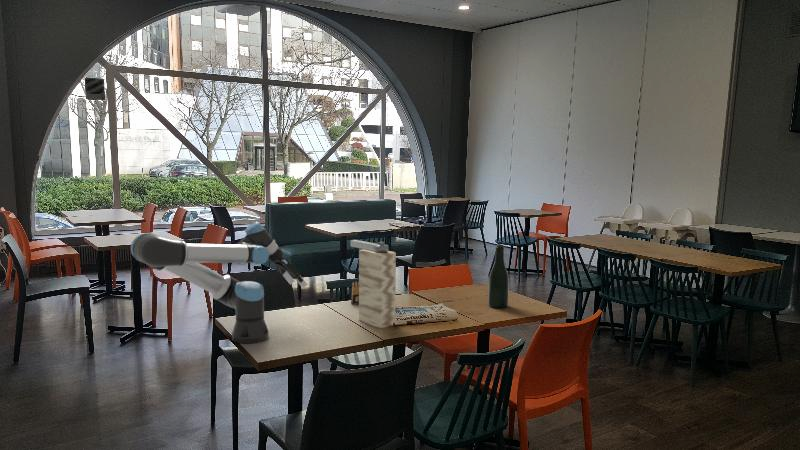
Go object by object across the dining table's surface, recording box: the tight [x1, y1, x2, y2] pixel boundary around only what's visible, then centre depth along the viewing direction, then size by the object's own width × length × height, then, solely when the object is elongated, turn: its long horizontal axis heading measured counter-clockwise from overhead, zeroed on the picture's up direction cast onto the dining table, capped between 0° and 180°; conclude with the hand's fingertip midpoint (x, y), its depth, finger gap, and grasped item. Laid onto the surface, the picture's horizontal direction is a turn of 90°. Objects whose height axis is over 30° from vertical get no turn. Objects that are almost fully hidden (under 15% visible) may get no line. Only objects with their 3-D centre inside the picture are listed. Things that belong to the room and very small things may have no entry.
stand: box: [358, 249, 397, 329], centre depth 259 cm, size 9×16×34 cm, turn 41°
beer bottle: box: [487, 243, 510, 309], centre depth 290 cm, size 10×10×33 cm
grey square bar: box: [350, 239, 389, 253], centre depth 262 cm, size 6×25×5 cm, turn 41°
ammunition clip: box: [350, 281, 359, 305], centre depth 296 cm, size 11×2×12 cm, turn 121°
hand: (298, 284), depth 262 cm, fingers open, 13 cm apart
